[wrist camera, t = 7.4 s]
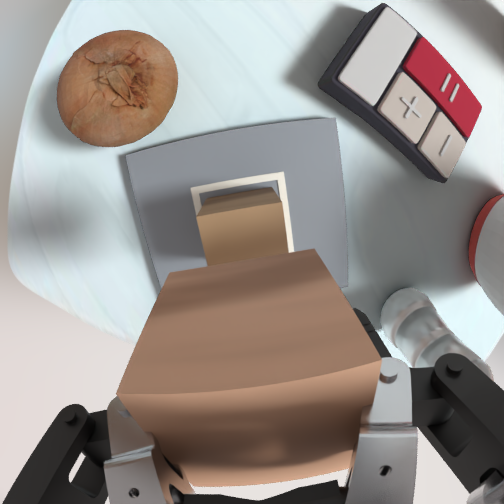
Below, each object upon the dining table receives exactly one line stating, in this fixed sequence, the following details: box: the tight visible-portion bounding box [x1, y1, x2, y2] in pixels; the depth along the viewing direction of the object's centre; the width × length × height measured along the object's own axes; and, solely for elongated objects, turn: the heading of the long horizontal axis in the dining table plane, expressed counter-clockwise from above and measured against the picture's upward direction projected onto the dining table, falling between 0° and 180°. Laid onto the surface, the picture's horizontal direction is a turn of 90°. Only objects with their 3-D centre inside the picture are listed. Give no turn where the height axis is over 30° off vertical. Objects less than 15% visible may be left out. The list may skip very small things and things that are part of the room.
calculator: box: [318, 3, 482, 183], centre depth 20 cm, size 11×4×15 cm
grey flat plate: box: [125, 118, 348, 289], centre depth 25 cm, size 16×18×1 cm
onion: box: [57, 30, 178, 147], centre depth 17 cm, size 10×9×10 cm
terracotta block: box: [116, 248, 382, 487], centre depth 9 cm, size 6×6×6 cm
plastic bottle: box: [380, 288, 494, 381], centre depth 21 cm, size 6×7×20 cm
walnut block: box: [196, 187, 289, 266], centre depth 22 cm, size 6×6×6 cm
